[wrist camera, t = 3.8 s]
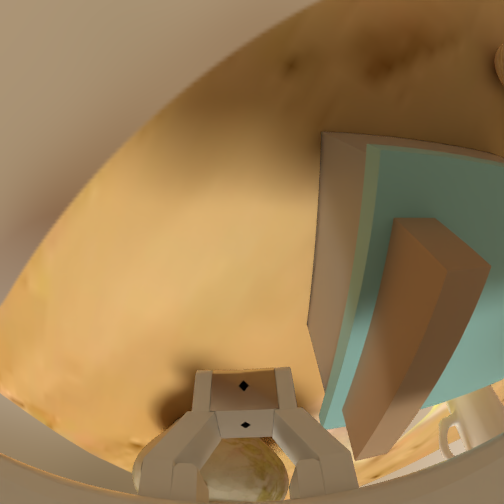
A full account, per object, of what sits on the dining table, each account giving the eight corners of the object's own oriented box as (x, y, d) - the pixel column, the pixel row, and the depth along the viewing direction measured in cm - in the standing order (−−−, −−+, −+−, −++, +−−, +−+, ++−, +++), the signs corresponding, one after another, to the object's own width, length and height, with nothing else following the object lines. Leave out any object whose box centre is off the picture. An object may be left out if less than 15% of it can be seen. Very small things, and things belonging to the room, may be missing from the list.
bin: (492, 153, 15) (565, 188, 9) (452, 306, 22) (493, 363, 15) (321, 131, 15) (376, 158, 9) (307, 324, 21) (328, 405, 15)
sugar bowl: (99, 391, 25) (63, 526, 12) (240, 361, 23) (247, 553, 10) (196, 467, 34) (192, 561, 21) (302, 449, 32) (317, 555, 19)
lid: (573, 182, 9) (622, 213, 5) (496, 369, 15) (520, 408, 12) (366, 143, 8) (443, 182, 5) (318, 415, 15) (331, 477, 12)
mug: (491, 364, 27) (532, 434, 17) (475, 393, 31) (508, 457, 20) (428, 392, 28) (465, 476, 17) (416, 419, 31) (444, 493, 21)
